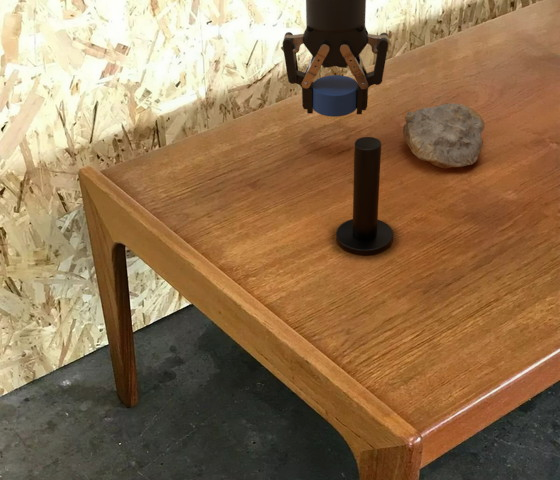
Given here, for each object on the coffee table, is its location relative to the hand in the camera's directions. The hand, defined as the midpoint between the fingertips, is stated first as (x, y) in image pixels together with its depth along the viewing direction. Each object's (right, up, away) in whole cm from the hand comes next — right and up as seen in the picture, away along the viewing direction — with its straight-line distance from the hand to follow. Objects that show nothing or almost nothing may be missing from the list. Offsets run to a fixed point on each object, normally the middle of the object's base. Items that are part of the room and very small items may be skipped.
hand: (335, 111), depth 110 cm
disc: (0, 0, 0) cm, 1 cm away
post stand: (+3, -20, -11) cm, 23 cm away
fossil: (+15, -5, +3) cm, 16 cm away
